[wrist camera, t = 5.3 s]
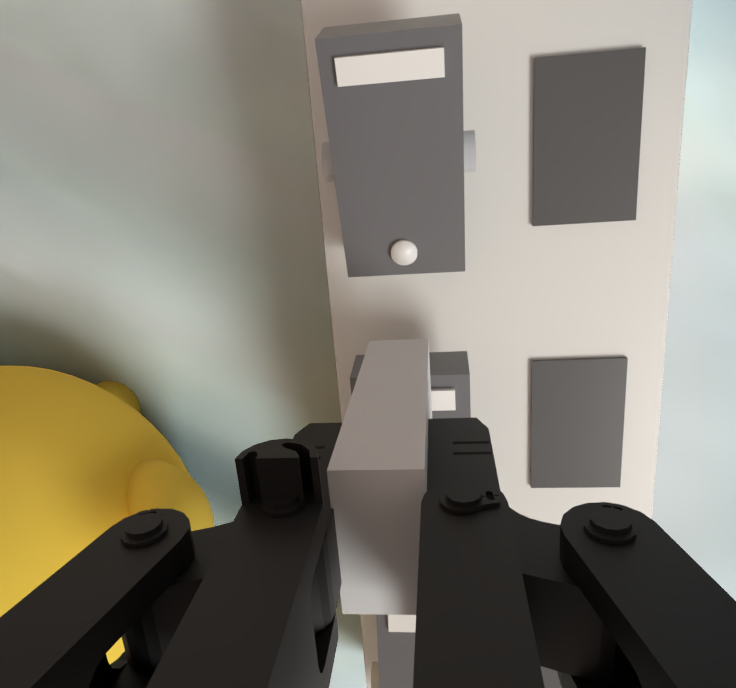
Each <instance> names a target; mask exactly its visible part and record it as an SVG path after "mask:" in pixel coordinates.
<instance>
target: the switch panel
mask: <svg viewBox="0 0 736 688" xmlns="http://www.w3.org/2000/svg"><path fill="white" fill-rule="evenodd" d="M301 7H302V17H303V27H304V38H305V48H306V58H307V69H308V79H309V90H310V100H311V110H312V121H313V131H314V142H315V152H316V162H317V173H318V183H319V194H320V204H321V214H322V225H323V235H324V246H325V256H326V266H327V277H328V287H329V298H330V308H331V318H332V329H333V339H334V350H335V360H336V370H337V381H338V391H339V402H340V412H341V422H342V423H343V420H344V417H345V414H346V411H347V408H348V405H349V402H350V399H351V396H352V395H351V386H350V375H351V371H352V368H353V364H354V361H355V357H356V355H365V353H366V350H367V347H368V344H369V341H380V340H404V339H428V338H429V352H452V351H467V355H468V363H469V372H470V409H471V418H478V419H479V420H480V421H481V422H482V423H483V424H484V425H485V426H487V427H488V428H489V433H490V438H491V444H492V449H493V454H494V459H495V465H496V470H497V475H498V481H499V486H500V491H501V492H502V493H503V494H504V496H505V497H506V499H507V501H508V505H509V507H510V508H512V509H513V510H515V511H516V512H518V513H519V514H521V515H524V516H526V517H528V518H531V519H535V520H538V521H542V522H547V523H552V524H557V525H560V523H561V520H562V517H563V514H564V513H566V512H567V511H568V510H570V509H571V508H572V507H575V506H578V505H582V504H585V503H597V502H609V503H613V504H614V503H616V504H620V505H624V506H627V507H629V508H632V509H635V510H637V511H640V512H642V513H643V514H645V515H646V516H648V517H649V518H650V519H652V510H653V497H654V485H655V472H656V459H657V446H658V434H659V421H660V408H661V395H662V382H663V370H664V357H665V344H666V331H667V319H668V306H669V293H670V280H671V267H672V255H673V242H674V229H675V216H676V204H677V191H678V178H679V165H680V152H681V140H682V127H683V114H684V101H685V89H686V76H687V63H688V50H689V38H690V25H691V12H692V0H301ZM456 13H459V14H460V18H461V22H462V49H463V128H464V131H466V130H475V142H476V170H475V172H464V208H465V271H462V272H442V273H423V274H404V275H384V276H365V277H348V273H347V266H346V258H345V251H344V244H343V237H342V230H341V223H340V216H339V209H338V202H337V195H336V187H335V182H326V180H325V177H324V173H323V167H322V143H323V142H329V138H328V131H327V124H326V117H325V109H324V102H323V95H322V88H321V81H320V74H319V67H318V60H317V53H316V46H315V38H316V37H317V35H318V34H319V33H320V32H321V30H322V29H323V28H324V27H331V26H341V25H351V24H360V23H370V22H379V21H389V20H399V19H408V18H418V17H427V16H437V15H447V14H456ZM360 620H361V630H362V641H363V651H364V662H365V672H366V682H367V688H371V669H372V662H373V661H378V646H377V619H376V614H360ZM541 671H542V676H543V682H544V687H545V688H562V686H561V684H560V681H559V677H558V673H557V671H556V670H552V669H549V668H545V667H542V666H541Z"/></svg>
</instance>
